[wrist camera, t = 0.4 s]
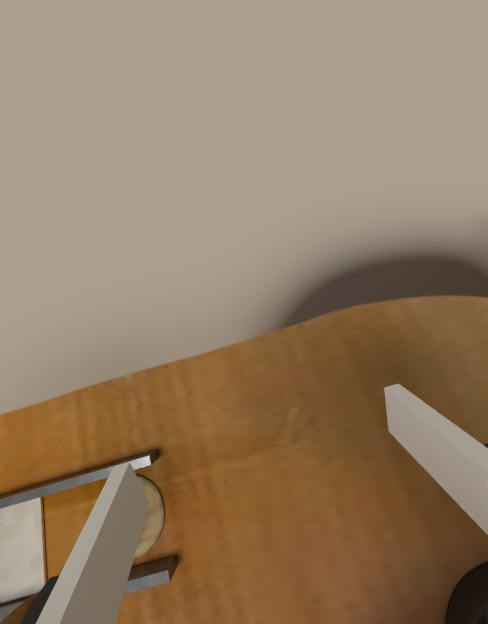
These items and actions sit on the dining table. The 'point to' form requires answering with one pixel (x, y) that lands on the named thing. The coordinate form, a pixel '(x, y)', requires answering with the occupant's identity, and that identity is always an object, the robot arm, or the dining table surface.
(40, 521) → the guide channel
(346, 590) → the dining table surface
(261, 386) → the dining table surface
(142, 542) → the hand bell
